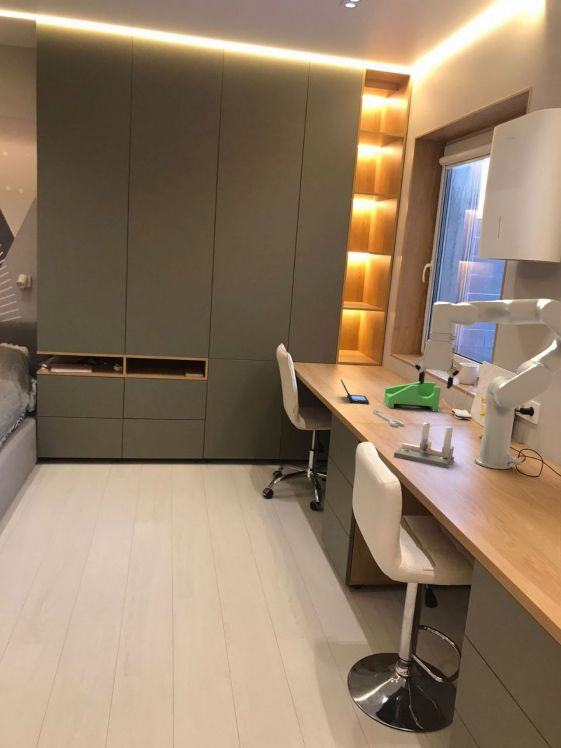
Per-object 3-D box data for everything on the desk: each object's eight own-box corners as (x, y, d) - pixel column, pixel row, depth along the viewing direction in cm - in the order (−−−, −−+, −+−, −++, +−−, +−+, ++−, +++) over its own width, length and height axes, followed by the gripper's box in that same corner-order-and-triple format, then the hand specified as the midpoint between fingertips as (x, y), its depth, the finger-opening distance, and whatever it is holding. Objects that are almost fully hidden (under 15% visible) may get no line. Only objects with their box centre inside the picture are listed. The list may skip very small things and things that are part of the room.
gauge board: (453, 460, 224) (458, 425, 221) (447, 467, 215) (451, 431, 213) (402, 450, 232) (405, 416, 230) (393, 456, 224) (397, 421, 221)
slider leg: (430, 450, 227) (434, 421, 225) (426, 454, 222) (429, 424, 220) (422, 449, 228) (425, 419, 226) (418, 452, 223) (421, 423, 221)
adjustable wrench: (371, 413, 288) (372, 410, 288) (384, 414, 290) (385, 410, 290) (392, 428, 264) (392, 424, 264) (406, 428, 266) (406, 424, 265)
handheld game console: (369, 405, 305) (371, 386, 303) (341, 403, 305) (343, 384, 303) (364, 398, 320) (366, 380, 318) (338, 396, 320) (340, 378, 318)
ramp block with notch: (431, 405, 314) (434, 382, 312) (437, 412, 301) (440, 387, 299) (383, 402, 314) (386, 378, 312) (387, 408, 301) (390, 383, 299)
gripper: (468, 339, 217) (462, 388, 220) (419, 334, 225) (414, 380, 228) (463, 341, 210) (457, 391, 213) (413, 335, 218) (408, 383, 221)
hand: (435, 386), depth 220 cm, fingers open, 9 cm apart
